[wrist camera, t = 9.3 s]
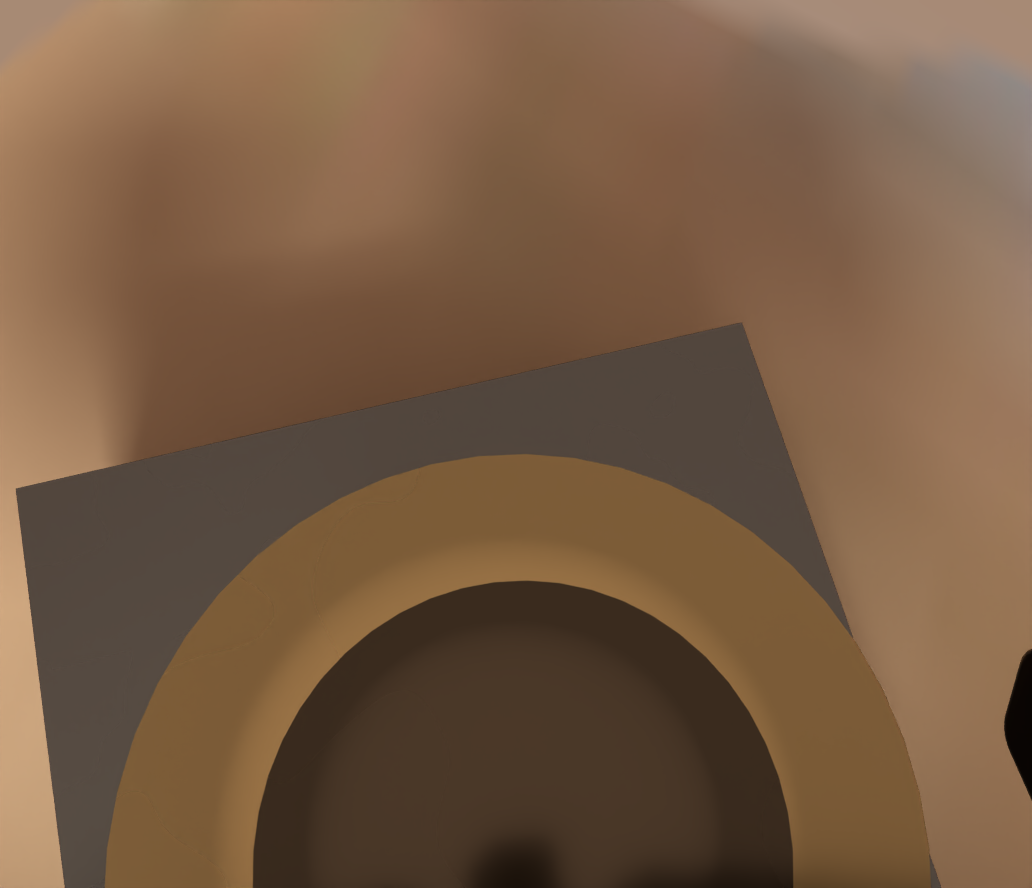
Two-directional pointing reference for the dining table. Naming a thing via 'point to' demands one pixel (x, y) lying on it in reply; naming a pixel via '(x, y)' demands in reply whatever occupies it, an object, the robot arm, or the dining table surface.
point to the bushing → (518, 704)
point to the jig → (330, 476)
